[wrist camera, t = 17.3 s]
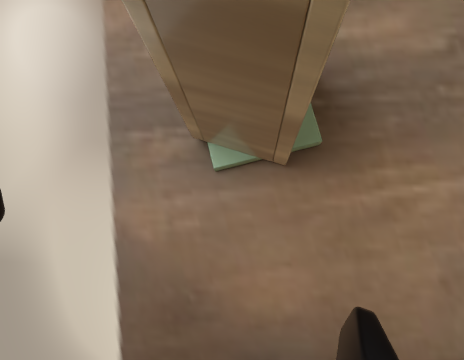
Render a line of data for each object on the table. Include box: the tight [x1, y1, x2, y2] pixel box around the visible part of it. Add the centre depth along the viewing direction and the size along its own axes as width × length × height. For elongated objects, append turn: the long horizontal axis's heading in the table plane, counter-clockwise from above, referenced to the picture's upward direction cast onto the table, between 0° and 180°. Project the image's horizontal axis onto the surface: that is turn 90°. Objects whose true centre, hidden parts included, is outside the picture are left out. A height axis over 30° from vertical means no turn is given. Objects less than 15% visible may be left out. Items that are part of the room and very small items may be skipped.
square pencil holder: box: [122, 0, 350, 165], centre depth 12 cm, size 5×4×12 cm
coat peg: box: [207, 102, 322, 171], centre depth 17 cm, size 5×5×4 cm
